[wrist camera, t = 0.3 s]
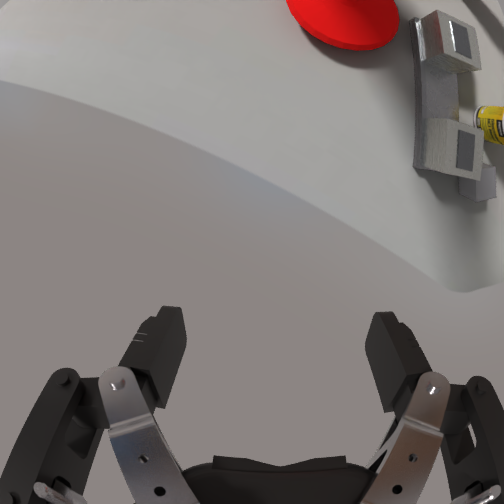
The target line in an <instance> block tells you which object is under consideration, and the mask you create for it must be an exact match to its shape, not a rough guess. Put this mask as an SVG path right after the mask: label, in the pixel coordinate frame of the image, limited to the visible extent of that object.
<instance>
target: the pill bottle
mask: <svg viewBox="0 0 504 504" xmlns="http://www.w3.org/2000/svg"><path fill="white" fill-rule="evenodd" d="M474 126H475V128H477V129H480V130H483V131H484V140H485V141H488V142H492V143H497V144H501V145H504V107H497V106H480V107H478V108H477V109H476V111H475V113H474Z"/></svg>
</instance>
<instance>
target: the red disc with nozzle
mask: <svg viewBox="0 0 504 504" xmlns="http://www.w3.org/2000/svg"><path fill="white" fill-rule="evenodd" d="M286 2H287V5H288V7H289V9H290V12H291V14H292V15H293V16H294V18H295V19H296V20H297V21H298V23H299V24H300V25H301V26H302V27H303V28H304V29H305V30H306V31H308V32H309V33H310V34H311V35H312V36H314V37H316V38H318V39H319V40H321V41H323V42H325V43H327V44H330V45H333V46H336V47H338V48H343V49H350V50H357V51H359V50H373V49H376V48H379V47H382V46H384V45H385V44H387V43H388V42H389V41H391V40H392V39H393V37H394V36H395V34H396V33H397V31H398V26H399V14H398V9H397V7H396V4H395V2H394V0H286Z"/></svg>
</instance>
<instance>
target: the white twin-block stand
mask: <svg viewBox="0 0 504 504" xmlns="http://www.w3.org/2000/svg"><path fill="white" fill-rule="evenodd" d="M409 24H410V31H411V39H412V47H413V58H414V71H415V95H416V121H415V146H414V161H413V167H415V168H418V169H423V170H424V169H427V170H433V171H438V172H442V173H446V174H451V175H456V176H460V177H465V178H470V179H474V180H478V181H480V178H481V169H482V158H483V144H484V131H483V130H480V129H477V128H475V127H472V126H469V125H466V124H463V123H460V122H459V102H458V80H457V74H459V73H465V72H471V71H478V70H482V69H481V61H480V53H479V47H478V41H477V36H476V31H475V28H474V27H472V26H470V25H468V24H466V23H464V22H462V21H460V20H458V19H456V18H454V17H452V16H450V15H448V14H446V13H443V12H441V11H439V10H435V11H434V12H432V13H430V14H428V15H427V16H425V17H423V18H422V19H420V20H419V19H418V18H415V17H414V18H413V19H411V20H410V21H409Z"/></svg>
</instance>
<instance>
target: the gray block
mask: <svg viewBox="0 0 504 504" xmlns="http://www.w3.org/2000/svg"><path fill="white" fill-rule="evenodd" d="M458 178H459V194H461V195H463V196H465V197H467V198H469V199H471V200H473V201H475V202H479V201H484V200H488V199H492V198H496V169H495V166H492V165H488V164H485V163H482V169H481V178H480V181H478V180H474V179H470V178H465V177H460V176H458Z"/></svg>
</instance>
